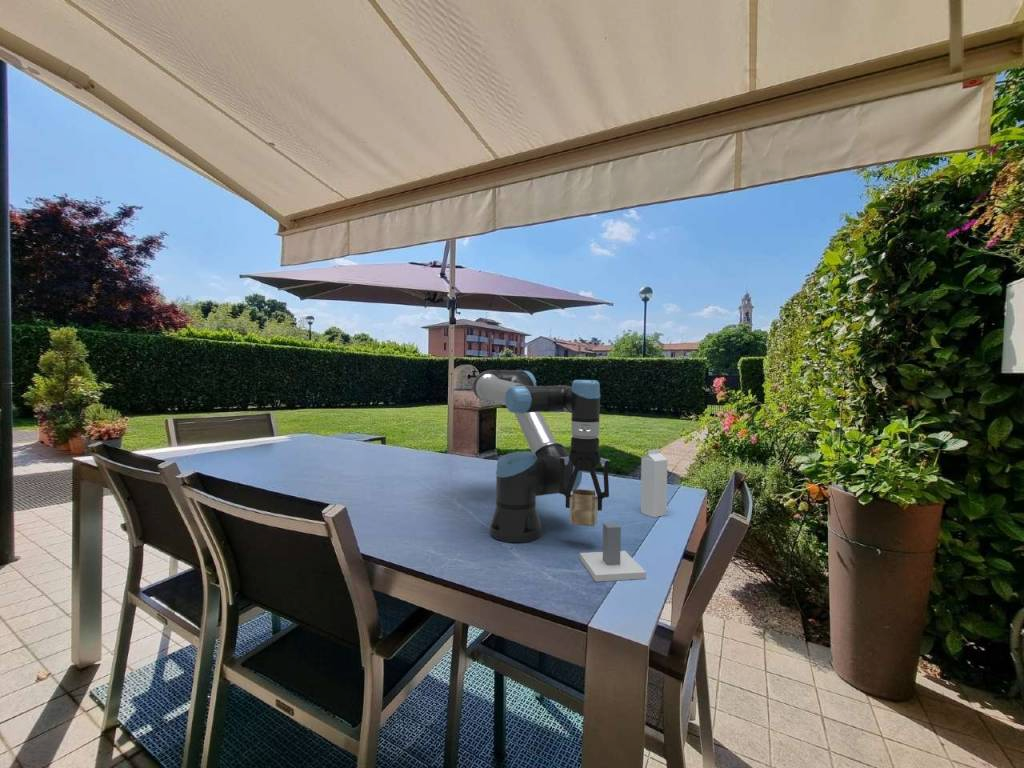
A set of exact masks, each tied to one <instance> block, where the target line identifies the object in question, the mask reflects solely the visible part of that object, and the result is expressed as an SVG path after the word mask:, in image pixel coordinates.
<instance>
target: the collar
mask: <svg viewBox="0 0 1024 768" xmlns="http://www.w3.org/2000/svg"><path fill="white" fill-rule="evenodd" d="M571 495H572V521H571V525H572V526H584V527H595V497H596V490H595V489H580V488H579V489H578V488H577V489H573V491H572V494H571Z"/></svg>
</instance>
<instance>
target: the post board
mask: <svg viewBox="0 0 1024 768" xmlns="http://www.w3.org/2000/svg"><path fill="white" fill-rule="evenodd" d="M621 528H622V527H621V526H620V525H619V524H618V523H617V522H603V523H602V551H595V552H579V560H580V561H581V563H582V564H583V566H584V568H586V570H587V571H588V573H589V574H590V577H592V579H593V580H594V581H595V582H600V583H601V582H615V581H630V579H633V580H643V579H645V580H646V579H647V571H645V569H644V568H642V566H641V565H640V564H639V563H638V562H637V561H636V560H635V559H634V558H633V557H632V556H631V555H630V554H629V553H628V552H627V551H626V550H621V546H622V544H621V540H622V539H621V535H622V533H621V532H622V531H621V530H622V529H621Z"/></svg>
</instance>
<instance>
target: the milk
mask: <svg viewBox="0 0 1024 768" xmlns="http://www.w3.org/2000/svg"><path fill="white" fill-rule="evenodd" d="M661 451H662V449H661V448H656V449H655V448H654V449H648V450H647V454H646V455H645V456H642V457H641V460H640V462H641V467H640V468H641V471H640V473H641V475H640V514H643V515H646V516H648V517H650V518H654V519H655V518H660V517H659V516H661V517H664V516H663V515H665V516H667V515H666V514H667V513H668V512H667V511H668V508H667V506H668V505H667V504H668V500H667V499H668V497H667V496H668V459H667V457H665V456H664V455H663V454H662V453H661Z"/></svg>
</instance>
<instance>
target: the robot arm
mask: <svg viewBox="0 0 1024 768" xmlns="http://www.w3.org/2000/svg"><path fill="white" fill-rule="evenodd" d="M600 386H601V385H600V382H599V381H598V380H594V379H575V380H573V381H572V384H571V386H570V385H565V384H564V385H561V384H560V385H559V384H558V385H537V380H536V378H535V376H534V374H533V373H531V371H528V370H522V369H516V370H515V369H512V370H511V369H508V370H507V369H487V370H484V371H482V372H480V373H479V374H477V376H476V377H474V379H473V382H472V391H473V394H474V395H475V396H476V398H478V399H480V400H481V401H485V402H496V403H498V404H501V405H504V406H505V407H506V409H507V411H508V412H510V413H514V416H515V418H516V420H517V422H518V424H519V427H520V429H521V431H522V433H523V435H524V437H525V440H526V443H527V445H528V446H529V448H530V451H529V450H525V451H514V452H509V453H506V454H504V455H501V456H500V457H499V458H498V460H497V463H496V471H495V475H496V481H495V482H496V489H495V491H496V493H495V494H496V497H495V500H496V504H495V509H494V513H493V516H492V519H491V523H490V527H489V534H490V533H491V534H490V536H491V535H492V536H494V537H495V538H497V539H499V540H498V541H500V540H503V541H502V542H504V541H508V542H507V543H512V542H521V543H527V542H526V541H529V542H532V540H533V541H536V540H537V539H539V538H540V537H541V536H542V529H543V528H542V527H543V526H542V523H541V521H540V517H539V513H538V511H537V503H536V501H537V497H538V496H539V497H540V496H548V495H556V494H560V495H564V496H565V508H566V509H569V511H568V512H569V515H568V517H569V522H572V494H571V493H572V492H573V489H578V488H579V487H580V485H581V484H582V483H581V482H582V478H583V471H585V472H588V473H590V476H591V480H592V484H593V486H594V490H595V495H596V496H595V524H598V514H599V513H598V511H599V512H600V511H602V509H603V499H605V498H609V497H610V487H609V485H610V484H609V468H610V464H611V462H610V459H609V458H607V459H606V458H603V457H601V456H600V439H599V437H598V436H600V410H601V408H600V407H601V388H600ZM561 412H564V413H565V412H566V413H571V421H570V422H571V424H570V425H571V429H570V431H571V433H570V434H571V435H572V437H571V438H570V453H568V451H567V449H566V448H565V446H564V445H563V444H562V443H560V442H558V441H556V439H555V436H554V435H553V433H552V431H551V429H550V428H549V425H548V423H547V422H546V420H545V418H544V416H543V414H542V413H561ZM599 463H600V465H601V468H603V469H602V471H603V490H604V491H602V490H601V489H602V488H601V485H600V483H599V480H598V475H597V471H596V469H595V468H596V467H597V465H598V464H599ZM595 524H594V525H595ZM492 536H491V537H492ZM495 538H494V539H495ZM497 539H496V540H497Z"/></svg>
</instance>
